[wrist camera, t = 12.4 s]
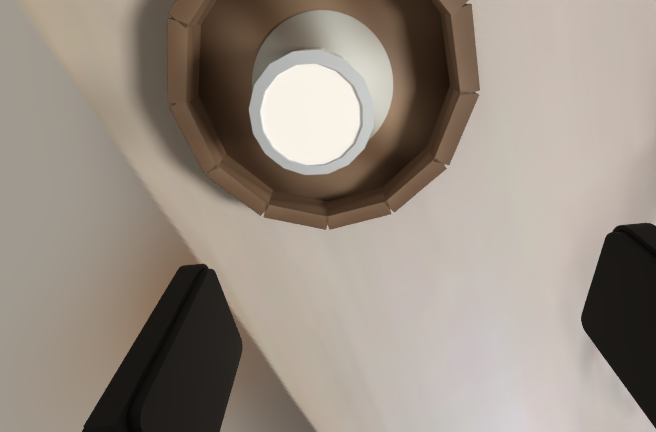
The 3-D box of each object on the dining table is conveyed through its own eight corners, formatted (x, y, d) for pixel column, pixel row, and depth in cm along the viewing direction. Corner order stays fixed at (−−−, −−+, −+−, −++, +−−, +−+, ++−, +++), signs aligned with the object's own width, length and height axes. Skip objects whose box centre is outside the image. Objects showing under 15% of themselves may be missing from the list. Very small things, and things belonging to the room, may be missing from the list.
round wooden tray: (310, -186, 19) (305, -220, 16) (518, 80, 26) (541, 90, 23) (135, 95, 27) (110, 106, 24) (330, 244, 34) (329, 268, 31)
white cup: (248, 81, 25) (221, 106, 19) (325, 13, 23) (322, 17, 17) (309, 155, 28) (302, 197, 22) (384, 100, 26) (399, 130, 20)
